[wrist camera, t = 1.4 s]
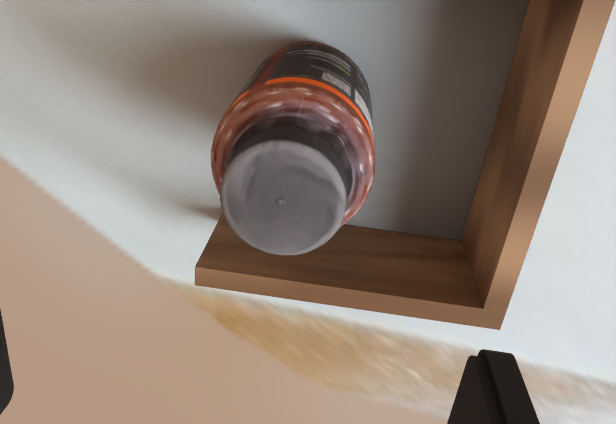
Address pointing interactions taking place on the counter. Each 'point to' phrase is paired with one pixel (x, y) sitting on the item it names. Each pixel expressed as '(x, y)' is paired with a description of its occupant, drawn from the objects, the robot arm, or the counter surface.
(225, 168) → the supplement bottle
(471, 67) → the counter surface
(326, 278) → the angled wooden boards
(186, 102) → the counter surface
